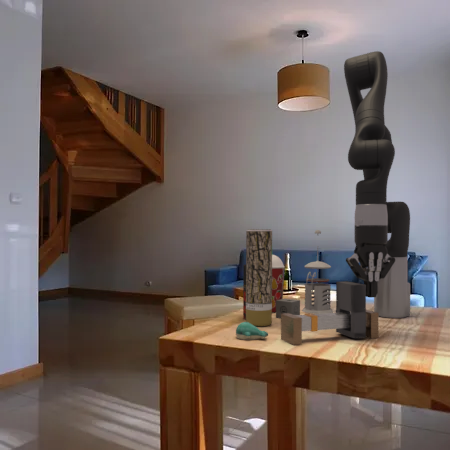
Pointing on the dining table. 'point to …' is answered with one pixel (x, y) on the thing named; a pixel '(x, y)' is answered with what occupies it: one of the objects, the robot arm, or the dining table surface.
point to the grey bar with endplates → (322, 324)
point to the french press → (317, 289)
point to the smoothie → (277, 280)
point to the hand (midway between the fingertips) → (370, 296)
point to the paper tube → (259, 277)
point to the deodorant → (244, 291)
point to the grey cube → (287, 307)
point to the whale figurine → (249, 332)
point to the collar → (352, 307)
